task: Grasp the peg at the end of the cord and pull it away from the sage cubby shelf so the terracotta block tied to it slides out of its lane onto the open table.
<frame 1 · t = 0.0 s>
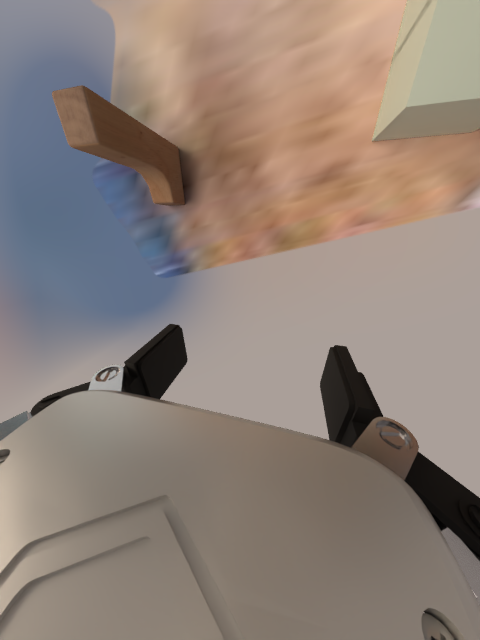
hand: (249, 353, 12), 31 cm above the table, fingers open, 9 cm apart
wooden block: (173, 178, 36), on the table
cubby shelf: (447, 52, 22), on the table
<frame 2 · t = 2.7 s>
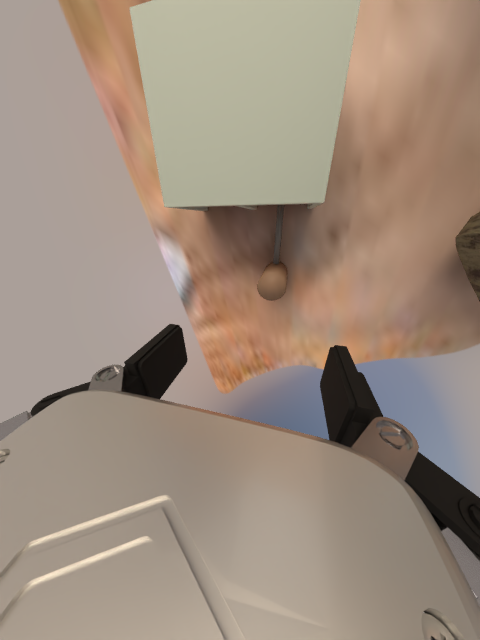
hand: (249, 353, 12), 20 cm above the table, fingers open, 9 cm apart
corded block: (284, 166, 22), on the table
cubby shelf: (256, 152, 22), on the table
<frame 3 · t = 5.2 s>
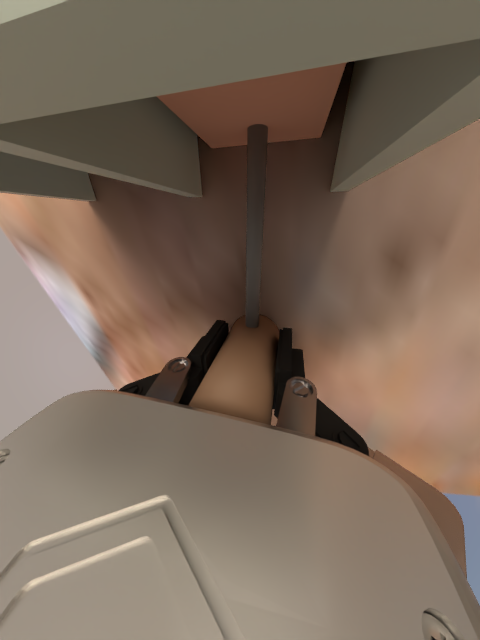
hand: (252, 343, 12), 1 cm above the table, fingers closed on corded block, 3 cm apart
corded block: (266, 58, 7), on the table, touching gripper
cubby shelf: (178, 15, 7), on the table
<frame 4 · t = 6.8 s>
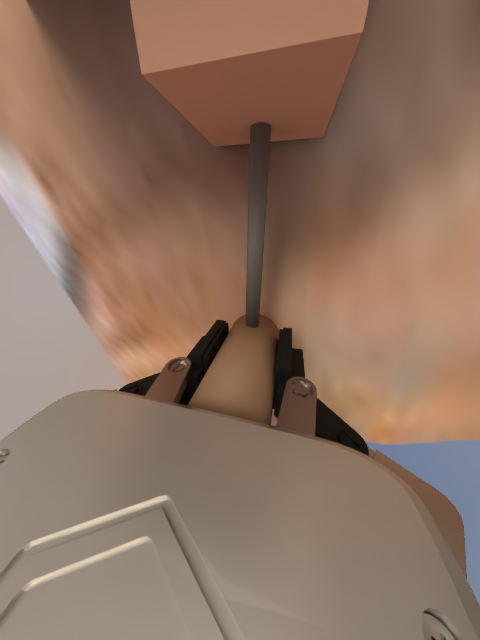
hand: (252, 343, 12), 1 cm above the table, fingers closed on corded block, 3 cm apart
corded block: (269, 56, 7), on the table, touching gripper
when the fingers open (1 cm above the table, at t = 8.7 s): corded block stays where it is, on the table.
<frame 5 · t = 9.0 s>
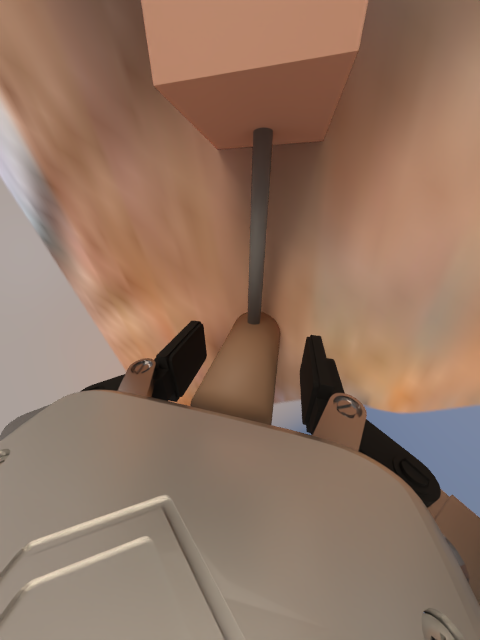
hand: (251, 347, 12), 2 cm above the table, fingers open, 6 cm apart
corded block: (271, 64, 7), on the table
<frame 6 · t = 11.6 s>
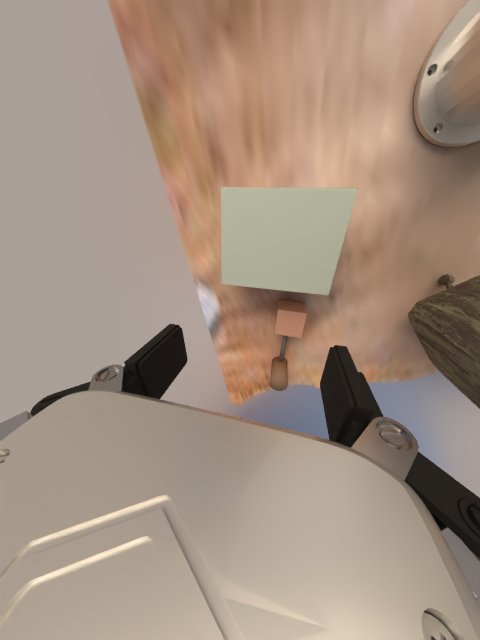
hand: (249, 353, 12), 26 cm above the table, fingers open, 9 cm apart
corded block: (289, 313, 37), on the table
cubby shelf: (280, 240, 32), on the table
tabletop clock: (432, 312, 32), on the table
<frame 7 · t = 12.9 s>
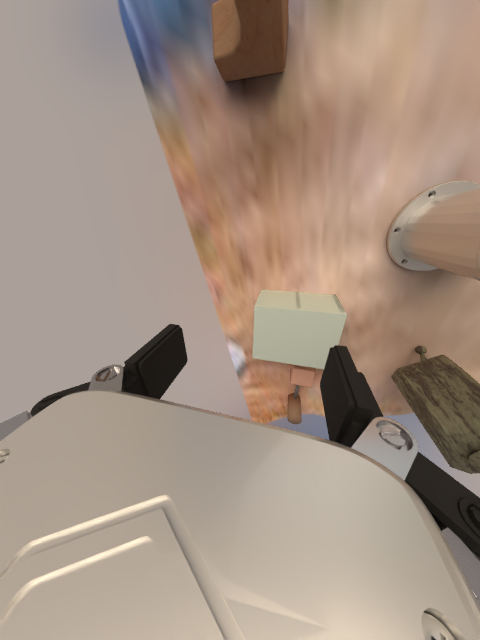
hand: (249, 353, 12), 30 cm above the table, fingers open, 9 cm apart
wooden block: (254, 55, 26), on the table
corded block: (301, 364, 48), on the table
cubby shelf: (293, 316, 42), on the table
tabletop clock: (413, 368, 41), on the table
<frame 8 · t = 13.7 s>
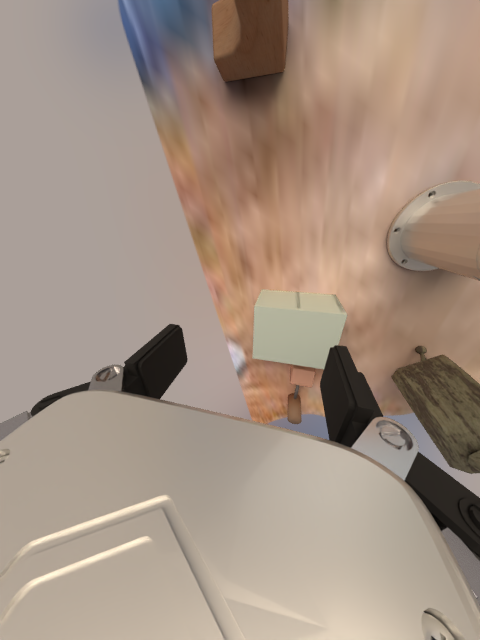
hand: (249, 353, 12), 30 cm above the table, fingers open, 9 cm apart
wooden block: (254, 55, 26), on the table
corded block: (301, 364, 48), on the table
cubby shelf: (293, 316, 42), on the table
tabletop clock: (413, 368, 41), on the table
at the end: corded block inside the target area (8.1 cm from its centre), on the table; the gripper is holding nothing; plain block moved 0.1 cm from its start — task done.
